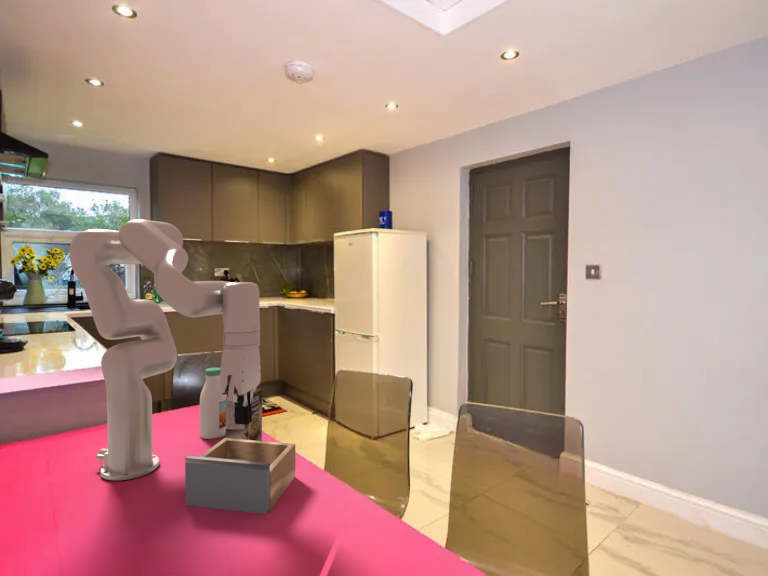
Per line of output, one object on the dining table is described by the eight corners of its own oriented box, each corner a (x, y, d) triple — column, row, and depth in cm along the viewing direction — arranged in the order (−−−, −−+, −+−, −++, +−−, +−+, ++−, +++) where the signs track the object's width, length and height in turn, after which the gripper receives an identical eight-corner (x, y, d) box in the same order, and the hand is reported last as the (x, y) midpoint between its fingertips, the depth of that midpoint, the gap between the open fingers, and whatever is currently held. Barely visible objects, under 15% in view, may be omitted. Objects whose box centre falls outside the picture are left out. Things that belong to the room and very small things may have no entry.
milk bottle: (210, 442, 124) (210, 373, 123) (194, 436, 128) (193, 369, 127) (232, 433, 131) (232, 368, 130) (216, 428, 135) (216, 364, 134)
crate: (190, 505, 91) (189, 463, 91) (224, 474, 105) (224, 437, 105) (270, 514, 88) (270, 471, 88) (295, 481, 102) (295, 443, 102)
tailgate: (185, 507, 90) (185, 457, 89) (188, 504, 91) (188, 455, 90) (267, 516, 87) (267, 465, 86) (269, 513, 88) (269, 462, 88)
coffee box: (246, 458, 114) (246, 397, 113) (224, 455, 115) (224, 396, 115) (263, 444, 123) (263, 388, 122) (242, 442, 124) (242, 386, 124)
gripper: (242, 333, 101) (243, 411, 102) (206, 344, 86) (208, 435, 87) (272, 334, 100) (273, 412, 101) (241, 345, 85) (242, 437, 86)
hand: (243, 422), depth 94 cm, fingers closed
